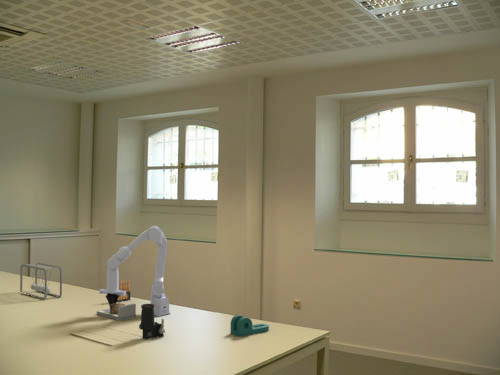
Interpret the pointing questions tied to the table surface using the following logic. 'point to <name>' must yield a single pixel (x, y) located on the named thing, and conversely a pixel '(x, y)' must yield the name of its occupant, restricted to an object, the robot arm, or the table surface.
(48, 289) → the newton's cradle
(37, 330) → the table surface
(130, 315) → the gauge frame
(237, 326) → the bracket
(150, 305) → the scope
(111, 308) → the block
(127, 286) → the ammunition clip
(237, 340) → the table surface
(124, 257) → the robot arm
